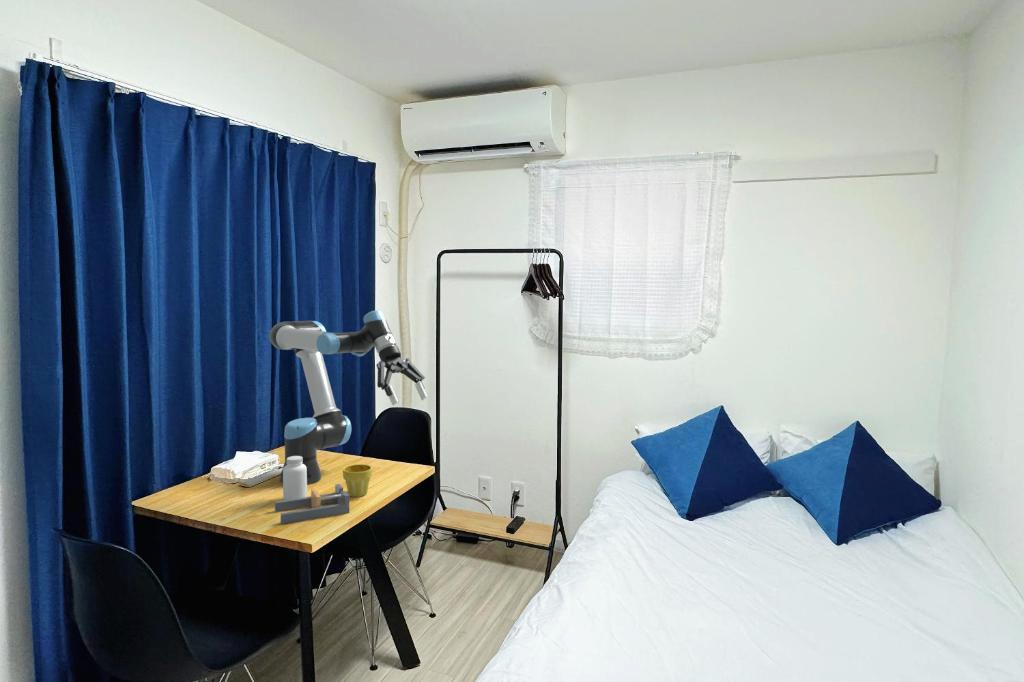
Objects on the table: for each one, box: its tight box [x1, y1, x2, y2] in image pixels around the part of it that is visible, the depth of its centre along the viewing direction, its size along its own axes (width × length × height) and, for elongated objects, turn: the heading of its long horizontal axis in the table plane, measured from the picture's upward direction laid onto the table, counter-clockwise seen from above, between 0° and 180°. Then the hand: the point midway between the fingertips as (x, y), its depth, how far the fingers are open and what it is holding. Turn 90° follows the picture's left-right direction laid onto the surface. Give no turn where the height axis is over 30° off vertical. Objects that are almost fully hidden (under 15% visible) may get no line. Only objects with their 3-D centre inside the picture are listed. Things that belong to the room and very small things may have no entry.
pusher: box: [310, 488, 341, 508], centre depth 200 cm, size 10×9×6 cm
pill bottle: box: [282, 456, 308, 501], centre depth 208 cm, size 8×8×15 cm
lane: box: [274, 483, 350, 525], centre depth 197 cm, size 22×13×6 cm, turn 120°
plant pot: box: [342, 463, 373, 498], centre depth 215 cm, size 10×10×10 cm
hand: (410, 400), depth 208 cm, fingers open, 13 cm apart
